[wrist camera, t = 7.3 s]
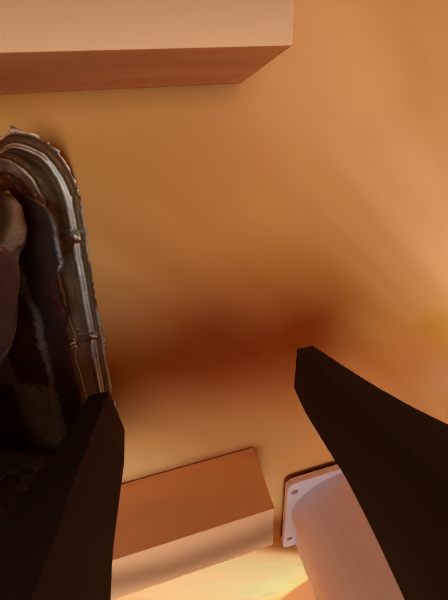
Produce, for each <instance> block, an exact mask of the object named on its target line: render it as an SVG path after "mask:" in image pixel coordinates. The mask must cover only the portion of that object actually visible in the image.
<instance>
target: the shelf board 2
mask: <svg viewBox="0 0 448 600" xmlns="http://www.w3.org/2000/svg"><path fill="white" fill-rule="evenodd" d="M273 526H274V506H273V504H272V501H271V498H270V495H269V492H268V489H267V486H266V483H265V480H264V477H263V475H262V472H261V469H260V466H259V463H258V460H257V457H256V454H255V451H254V448H250V449H246V450H242V451H239V452H235V453H232V454H228V455H225V456H221V457H217V458H214V459H210V460H207V461H203V462H200V463H196V464H192V465H189V466H185V467H182V468H178V469H174V470H171V471H167V472H164V473H160V474H157V475H153V476H149V477H146V478H142V479H139V480H135V481H132V482H128V483H124V484H121V491H120V499H119V507H118V515H117V523H116V530H115V538H114V548H113V559H112V580H111V600H114V599H117V598H120V597H122V596H125V595H128V594H131V593H134V592H137V591H140V590H143V589H146V588H148V587H151V586H154V585H157V584H160V583H163V582H166V581H169V580H172V579H175V578H177V577H180V576H183V575H186V574H189V573H192V572H195V571H198V570H201V569H203V568H206V567H209V566H212V565H215V564H218V563H221V562H224V561H227V560H230V559H232V558H235V557H238V556H241V555H244V554H247V553H250V552H253V551H256V550H258V549H261V548H264V547H267V546H270V545H273Z"/></svg>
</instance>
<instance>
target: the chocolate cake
mask: <svg viewBox="0 0 448 600" xmlns="http://www.w3.org/2000/svg"><path fill="white" fill-rule="evenodd" d="M59 153H60V151H59V150H58V149H56V148H54V147H52V146H50V144H49V142H47V143H44V142H42V141H41V139H40V137H39V135H38V134H36V133H27V131H26V132H23V131H21V130H19V129H17V128H15V127H14V126H12V125H11V127H10V130H9V132H8V133H7V134H6V135H4V136H2V137H0V528H1V527H2V525H3V524H4V523H5V521H6V520H7V519H8V517H9V516H10V515H11V513H12V512H13V511H14V509H15V508H16V507H17V505H18V504H19V502H20V501H21V500H22V498H23V497H24V495H25V494H26V492H27V491H28V490H29V488H30V487H31V485H32V484H33V482H34V481H35V480H36V478H37V477H38V475H39V474H40V472H41V471H42V470H43V468H44V467H45V465H46V464H47V462H48V461H49V459H50V457H51V456H52V454H53V453H54V451H55V450H56V448H57V447H58V445H59V443H60V442H61V440H62V439H63V437H64V436H65V434H66V432H67V431H68V429H69V427H70V426H71V424H72V423H73V421H74V419H75V418H76V416H77V414H78V413H79V411H80V409H81V408H82V406H83V404H84V403H85V401H86V399H87V398H88V397H89V395H92V394H97V393H101V392H106V391H109V393H110V394H111V393H112V391H113V388H112V384H111V380H110V375H109V370H108V365H107V356H106V355H105V349H106V347H105V344H106V343H105V339H104V336H102V332H103V331H102V327H101V324H100V322H101V316H100V315H99V313H98V307H97V302H96V300H95V298H94V295H95V289H94V288H93V286H94V282H92V268H91V262H90V259H89V250H88V239H87V231H86V227H85V223H84V217H83V204H82V201H81V197H80V196H78V193H79V190H78V191H76V184H75V183H76V182H77V180H75V179H74V178H73V176H72V174H71V171H70V167H69V166H68V165H67V162H66V161H65V160H64V158H63V157H62V156H61V155H60V154H59ZM111 398H112V397H111ZM114 405H115V407H116V406H117V405H116V401H114Z"/></svg>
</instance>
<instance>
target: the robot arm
mask: <svg viewBox="0 0 448 600" xmlns="http://www.w3.org/2000/svg"><path fill="white" fill-rule="evenodd" d="M294 388H295V391H296V393H297V395H298V397H299V400H300V402H301V404H302V406H303V408H304V410H305V412H306V414H307V416H308V417H309V419H310V421H311V422H312V424H313V426H314V427H315V429H316V431H317V432H318V434H319V435H320V437H321V439H322V440H323V442H324V443H325V445H326V447H327V448H328V450H329V452H330V453H331V455H332V456H333V458H334V460H335V461H336V463H337V464H336V465H333V466H329V467H326V468H323V469H320V470H316V471H313V472H310V473H307V474H303V475H300V476H297V477H294V478H291V479H289V480H288V481H287V482H286V486H285V499H284V512H283V526H282V539H281V541H282V544H283V546H284V547H289V546H291V545H294V544H296V547H297V550H298V552H299V555H300V558H301V560H302V563H303V566H304V569H305V571H306V574H307V577H308V579H309V582H310V585H311V588H312V590H313V593H314V596H315V598H316V600H448V424H446V423H444V422H441V421H439V420H437V419H435V418H433V417H431V416H429V415H427V414H425V413H423V412H421V411H419V410H417V409H415V408H413V407H411V406H410V405H408V404H406V403H404V402H402V401H400V400H399V399H397V398H395V397H393V396H392V395H390V394H388V393H386V392H384V391H383V390H381V389H379V388H378V387H376V386H374V385H373V384H371V383H369V382H368V381H366V380H364V379H363V378H361V377H360V376H358V375H357V374H355V373H353V372H352V371H350V370H349V369H347V368H346V367H344V366H343V365H341V364H340V363H338V362H336V361H335V360H333V359H332V358H330V357H329V356H327V355H326V354H324V353H323V352H321V351H320V350H318V349H317V348H315V347H314V346H309V347H305V348H300V349H297V359H296V372H295V384H294ZM123 466H124V427H123V425H122V422H121V420H120V417H119V415H118V412H117V410H116V407H115V405H114V402H113V400H112V398H111V395H110V393H109V391H106V392H101V393H97V394H92V395H89V397H88V398H87V399H86V401H85V403H84V404H83V406H82V408H81V409H80V411H79V413H78V414H77V416H76V418H75V419H74V421H73V423H72V424H71V426H70V427H69V429H68V431H67V432H66V434H65V436H64V437H63V439H62V440H61V442H60V443H59V445H58V447H57V448H56V450H55V451H54V453H53V454H52V456H51V457H50V459H49V461H48V462H47V464H46V465H45V467H44V468H43V470H42V471H41V472H40V474H39V475H38V477H37V478H36V480H35V481H34V482H33V484H32V485H31V487H30V488H29V490H28V491H27V492H26V494H25V495H24V497H23V498H22V500H21V501H20V502H19V504H18V505H17V507H16V508H15V509H14V511H13V512H12V513H11V515H10V516H9V517H8V519H7V520H6V521H5V523H4V524H3V525H2V527H1V528H0V600H111V580H112V559H113V548H114V538H115V530H116V523H117V515H118V507H119V499H120V491H121V483H122V475H123Z"/></svg>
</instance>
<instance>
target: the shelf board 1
mask: <svg viewBox="0 0 448 600" xmlns="http://www.w3.org/2000/svg"><path fill="white" fill-rule="evenodd" d="M293 10H294V0H0V94H15V93H36V92H57V91H78V90H99V89H120V88H141V87H161V86H182V85H203V84H224V83H241V82H243V81H244V80H245V79H247V78H248V77H249V76H251V75H252V74H254V73H255V72H256V71H258V70H259V69H260V68H262V67H263V66H265V65H266V64H267V63H269V62H270V61H271V60H273V59H274V58H276V57H277V56H278V55H280V54H281V53H282V52H284V51H285V50H286V49H288V48H289V47H291V46H292V36H293Z"/></svg>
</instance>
